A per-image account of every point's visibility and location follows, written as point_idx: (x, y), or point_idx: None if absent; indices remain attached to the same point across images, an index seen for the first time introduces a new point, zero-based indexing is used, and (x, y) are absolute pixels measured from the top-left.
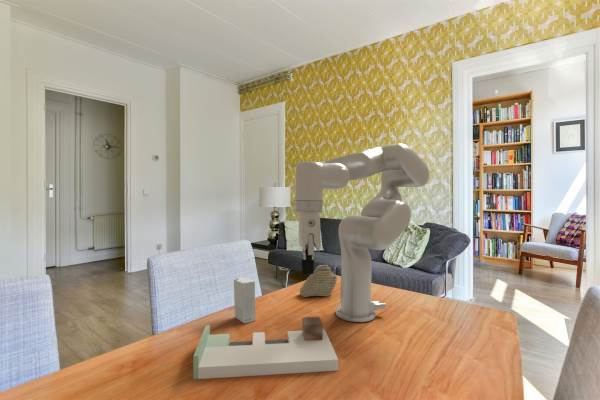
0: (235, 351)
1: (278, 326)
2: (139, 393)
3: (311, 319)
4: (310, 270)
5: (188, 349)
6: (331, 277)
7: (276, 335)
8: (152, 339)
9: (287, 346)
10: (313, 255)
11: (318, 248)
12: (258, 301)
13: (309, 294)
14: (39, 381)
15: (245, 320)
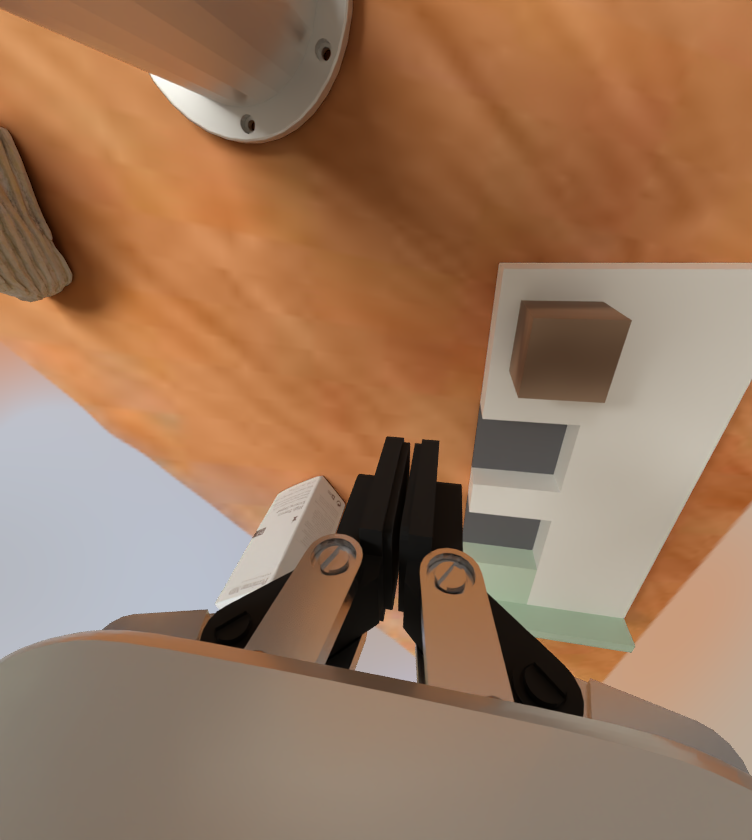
0: (575, 557)
1: (368, 416)
2: (619, 657)
3: (554, 363)
4: (461, 490)
5: None
6: None
7: (435, 429)
8: (412, 646)
9: (603, 435)
10: (489, 618)
11: (605, 750)
12: (167, 453)
13: (52, 254)
14: None
15: (340, 506)
